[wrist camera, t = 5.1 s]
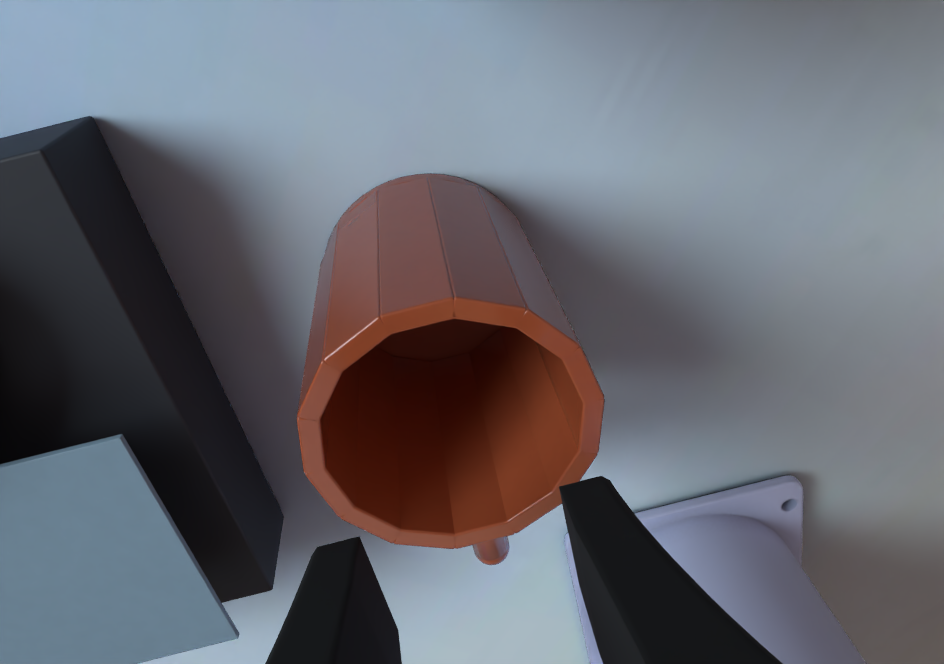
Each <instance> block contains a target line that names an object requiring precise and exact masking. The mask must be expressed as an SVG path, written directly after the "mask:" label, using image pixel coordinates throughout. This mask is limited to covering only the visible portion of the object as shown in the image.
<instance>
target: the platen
mask: <svg viewBox="0 0 944 664" xmlns="http://www.w3.org/2000/svg"><path fill="white" fill-rule="evenodd" d="M238 637H239V632H238V630H237V629H236V627H235V625H234V623H233V622H232V620H231V618H230V617H229V615H228V613H227V612H226V610H225V608H224V606H223V605H222V603H221V601H220V600H219V598H218V596H217V595H216V593H215V591H214V589H213V588H212V586H211V584H210V583H209V581H208V579H207V577H206V576H205V574H204V572H203V571H202V569H201V567H200V566H199V564H198V562H197V560H196V559H195V557H194V555H193V554H192V552H191V550H190V549H189V547H188V545H187V543H186V542H185V540H184V538H183V537H182V535H181V533H180V531H179V530H178V528H177V526H176V525H175V523H174V521H173V520H172V518H171V516H170V514H169V513H168V511H167V509H166V508H165V506H164V504H163V502H162V501H161V499H160V497H159V496H158V494H157V492H156V491H155V489H154V487H153V485H152V484H151V482H150V480H149V479H148V477H147V475H146V474H145V472H144V470H143V468H142V467H141V465H140V463H139V462H138V460H137V458H136V456H135V455H134V453H133V451H132V450H131V448H130V446H129V445H128V443H127V441H126V439H125V438H124V436H123V434H119V435H115V436H111V437H107V438H103V439H99V440H95V441H91V442H87V443H83V444H79V445H75V446H71V447H67V448H63V449H59V450H55V451H51V452H47V453H43V454H39V455H35V456H31V457H27V458H23V459H19V460H15V461H11V462H7V463H3V464H0V664H137V663H141V662H145V661H149V660H153V659H157V658H161V657H165V656H169V655H173V654H177V653H181V652H185V651H189V650H193V649H197V648H201V647H205V646H209V645H213V644H217V643H221V642H225V641H229V640H233V639H237V638H238Z"/></svg>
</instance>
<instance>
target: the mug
mask: <svg viewBox="0 0 944 664" xmlns="http://www.w3.org/2000/svg"><path fill="white" fill-rule="evenodd" d="M604 402H605V399H604V394H603V392H602V390H601V388H600V386H599V384H598V381H597V379H596V377H595V375H594V373H593V371H592V368H591V366H590V364H589V362H588V360H587V358H586V355H585V353H584V351H583V349H582V347H581V345H580V343H579V341H578V339H577V337H576V335H575V333H574V331H573V329H572V327H571V325H570V323H569V321H568V319H567V317H566V315H565V313H564V311H563V309H562V307H561V305H560V303H559V301H558V299H557V297H556V295H555V293H554V291H553V289H552V287H551V285H550V283H549V281H548V279H547V277H546V275H545V273H544V271H543V269H542V267H541V265H540V263H539V261H538V259H537V257H536V255H535V253H534V251H533V249H532V247H531V245H530V243H529V241H528V239H527V237H526V235H525V233H524V231H523V229H522V227H521V225H520V223H519V221H518V219H517V217H515V215H514V214H513V213H512V212H511V211H510V210H509V209H508V208H507V206H506V205H505V204H504V203H502V202H501V201H500V200H499V199H498V198H497V197H496V196H495V195H493V194H492V193H490V192H489V191H487V190H486V189H484V188H482V187H480V186H478V185H476V184H474V183H472V182H470V181H467V180H464V179H461V178H458V177H453V176H448V175H441V174H416V175H410V176H405V177H400V178H397V179H394V180H391V181H388V182H386V183H384V184H381V185H379V186H377V187H375V188H373V189H372V190H370V191H369V192H367V193H366V194H364V195H363V196H361V197H360V198H359V199H358V200H357V201H355V202H354V203H353V204H352V205H351V206H350V207H349V208H348V209H347V211H346V212H345V213H344V214H343V215H342V217H341V218H340V220H339V221H338V223H337V224H336V226H335V227H334V229H333V232H332V234H331V236H330V238H329V241H328V244H327V247H326V250H325V254H324V257H323V259H322V261H321V265H320V271H319V278H318V284H317V290H316V297H315V303H314V310H313V316H312V323H311V329H310V335H309V342H308V348H307V355H306V361H305V367H304V374H303V380H302V387H301V393H300V400H299V406H298V412H297V426H298V433H299V441H300V448H301V456H302V464H303V471H304V473H305V475H306V477H307V478H308V479H309V480H310V482H311V483H312V484H313V485H314V487H315V488H316V489H317V490H318V492H319V493H320V494H321V495H322V497H323V498H324V499H325V501H326V502H327V503H328V504H329V506H330V507H331V508H332V509H333V511H334V512H335V513H336V514H337V516H338V517H340V518H341V519H342V520H344V521H346V522H348V523H351V524H353V525H355V526H357V527H359V528H361V529H363V530H365V531H367V532H369V533H371V534H373V535H375V536H377V537H380V538H382V539H384V540H386V541H388V542H390V543H394V544H399V545H411V546H423V547H434V548H446V549H454V548H456V549H458V548H462V547H466V546H470V545H472V546H473V549H474V553H475V555H476V557H477V558H478V559H479V560H480V561H481V562H482V563H484V564H487V565H496V564H499V563H501V562H502V561H503V560H504V559H505V558H506V556H507V554H508V552H509V541H508V537H507V536H510V535H513V534H514V533H518V532H519V531H521V530H522V529H524V528H525V527H527V526H528V525H530V524H531V523H533V522H534V521H536V520H538V519H539V518H541V517H542V516H544V515H545V514H547V513H548V512H550V511H551V510H553V509H554V508H556V507H557V506H559V505H560V504H562V500H561V495H560V490H559V486H563V485H567V484H571V483H575V482H579V481H580V480H581V478H582V477H583V475H584V474H585V472H586V471H587V469H588V468H589V466H590V465H591V463H592V462H593V460H594V459H595V458H596V456H597V453H598V451H599V443H600V435H601V427H602V418H603V410H604Z"/></svg>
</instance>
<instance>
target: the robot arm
mask: <svg viewBox="0 0 944 664" xmlns="http://www.w3.org/2000/svg"><path fill="white" fill-rule="evenodd" d="M559 490H560V495H561V500H562V504H563V509H564V514H565V519H566V524H567V529H568V533H567V534H566V536H565V537H564V544H565V549H566V554H567V558H568V563H569V568H570V572H571V577H572V582H573V586H574V591H575V596H576V601H577V605H578V610H579V615H580V619H581V624H582V629H583V633H584V638H585V643H586V648H587V652H588V657H589V662H590V664H866V662H865V661H864V659H863V658H862V656H861V655H860V653H859V652H858V650H857V649H856V647H855V646H854V644H853V643H852V641H851V640H850V638H849V637H848V635H847V634H846V632H845V631H844V629H843V628H842V626H841V625H840V624H839V622H838V621H837V619H836V618H835V616H834V615H833V613H832V612H831V610H830V609H829V607H828V606H827V604H826V603H825V601H824V600H823V598H822V597H821V595H820V594H819V592H818V591H817V589H816V588H815V586H814V585H813V583H812V582H811V580H810V579H809V577H808V576H807V574H806V573H805V572H804V570H803V569H802V528H803V486H802V484H801V483H800V482H799V481H798V479H797V478H795V477H794V476H790V475H788V476H782V477H778V478H774V479H770V480H766V481H762V482H758V483H754V484H750V485H746V486H742V487H738V488H734V489H730V490H726V491H722V492H718V493H713V494H709V495H705V496H701V497H697V498H693V499H689V500H685V501H681V502H677V503H673V504H669V505H665V506H661V507H657V508H653V509H649V510H645V511H641V512H637V513H633V512H632V510H631V509H630V508H629V506H628V505H627V504H626V503H625V501H624V500H623V499H622V497H621V496H620V494H619V493H618V492H617V490H616V489H615V487H614V486H613V485H612V483H611V481H610V480H608V479H606V478H604V477H602V476H599V477H595V478H591V479H587V480H583V481H579V482H575V483H571V484H567V485H563V486H559ZM787 500H788V501H787ZM785 501H786V502H785ZM265 664H402V662H401V653H400V643H399V634H398V629H397V626H396V624H395V621H394V619H393V617H392V614H391V612H390V609H389V607H388V604H387V602H386V600H385V597H384V595H383V592H382V590H381V588H380V585H379V583H378V580H377V578H376V575H375V573H374V571H373V568H372V566H371V563H370V561H369V558H368V556H367V554H366V551H365V549H364V546H363V544H362V541H361V539H360V537H355V538H351V539H347V540H343V541H339V542H335V543H331V544H327V545H323V546H319V547H317V548H316V550H315V551H314V553H313V554H312V556H311V559H310V561H309V564H308V566H307V569H306V571H305V574H304V576H303V579H302V581H301V583H300V586H299V588H298V591H297V593H296V596H295V598H294V600H293V603H292V605H291V608H290V610H289V612H288V615H287V617H286V619H285V621H284V624H283V626H282V628H281V631H280V633H279V635H278V638H277V640H276V642H275V644H274V646H273V649H272V651H271V653H270V655H269V657H268V659H267V661H266V663H265Z"/></svg>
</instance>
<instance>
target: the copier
mask: <svg viewBox="0 0 944 664" xmlns="http://www.w3.org/2000/svg"><path fill="white" fill-rule="evenodd" d="M119 434H123V436H124V438H125V439H126V441H127V443H128V445H129V446H130V448H131V450H132V451H133V453H134V455H135V456H136V458H137V460H138V462H139V463H140V465H141V467H142V468H143V470H144V472H145V474H146V475H147V477H148V479H149V480H150V482H151V484H152V485H153V487H154V489H155V491H156V492H157V494H158V496H159V497H160V499H161V501H162V502H163V504H164V506H165V508H166V509H167V511H168V513H169V514H170V516H171V518H172V520H173V521H174V523H175V525H176V526H177V528H178V530H179V531H180V533H181V535H182V537H183V538H184V540H185V542H186V543H187V545H188V547H189V549H190V550H191V552H192V554H193V555H194V557H195V559H196V560H197V562H198V564H199V566H200V567H201V569H202V571H203V572H204V574H205V576H206V577H207V579H208V581H209V583H210V584H211V586H212V588H213V589H214V591H215V593H216V595H217V596H218V598H219V600H220V601H221V603H222V602H226V601H230V600H234V599H238V598H242V597H246V596H250V595H254V594H258V593H262V592H266V591H270V590H272V589H273V584H274V577H275V570H276V564H277V557H278V551H279V544H280V537H281V531H282V524H283V518H284V516H283V514H282V512H281V510H280V508H279V506H278V503H277V501H276V499H275V497H274V495H273V493H272V491H271V489H270V487H269V485H268V483H267V480H266V478H265V476H264V474H263V472H262V470H261V468H260V466H259V464H258V462H257V459H256V457H255V455H254V453H253V451H252V449H251V447H250V445H249V443H248V441H247V439H246V436H245V434H244V432H243V430H242V428H241V426H240V424H239V422H238V420H237V418H236V416H235V413H234V411H233V409H232V407H231V405H230V403H229V401H228V399H227V397H226V395H225V393H224V390H223V388H222V386H221V384H220V382H219V380H218V378H217V376H216V374H215V372H214V370H213V367H212V365H211V363H210V361H209V359H208V357H207V355H206V353H205V351H204V349H203V346H202V344H201V342H200V340H199V338H198V336H197V334H196V332H195V330H194V328H193V326H192V323H191V321H190V319H189V317H188V315H187V313H186V311H185V309H184V307H183V305H182V303H181V300H180V298H179V296H178V294H177V292H176V290H175V288H174V286H173V284H172V282H171V280H170V277H169V275H168V273H167V271H166V269H165V267H164V265H163V263H162V261H161V259H160V257H159V254H158V252H157V250H156V248H155V246H154V244H153V242H152V240H151V238H150V236H149V233H148V231H147V229H146V227H145V225H144V223H143V221H142V219H141V217H140V215H139V213H138V210H137V208H136V206H135V204H134V202H133V200H132V198H131V196H130V194H129V192H128V190H127V187H126V185H125V183H124V181H123V179H122V177H121V175H120V173H119V171H118V169H117V167H116V164H115V162H114V160H113V158H112V156H111V154H110V152H109V150H108V148H107V146H106V144H105V141H104V139H103V137H102V135H101V133H100V131H99V129H98V127H97V125H96V123H95V120H94V118H93V117H91V116H88V117H84V118H80V119H76V120H72V121H68V122H64V123H60V124H56V125H52V126H48V127H44V128H40V129H36V130H32V131H28V132H24V133H20V134H16V135H12V136H8V137H4V138H0V464H3V463H7V462H11V461H15V460H19V459H23V458H27V457H31V456H35V455H39V454H43V453H47V452H51V451H55V450H59V449H63V448H67V447H71V446H75V445H79V444H83V443H87V442H91V441H95V440H99V439H103V438H107V437H111V436H115V435H119Z"/></svg>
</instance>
